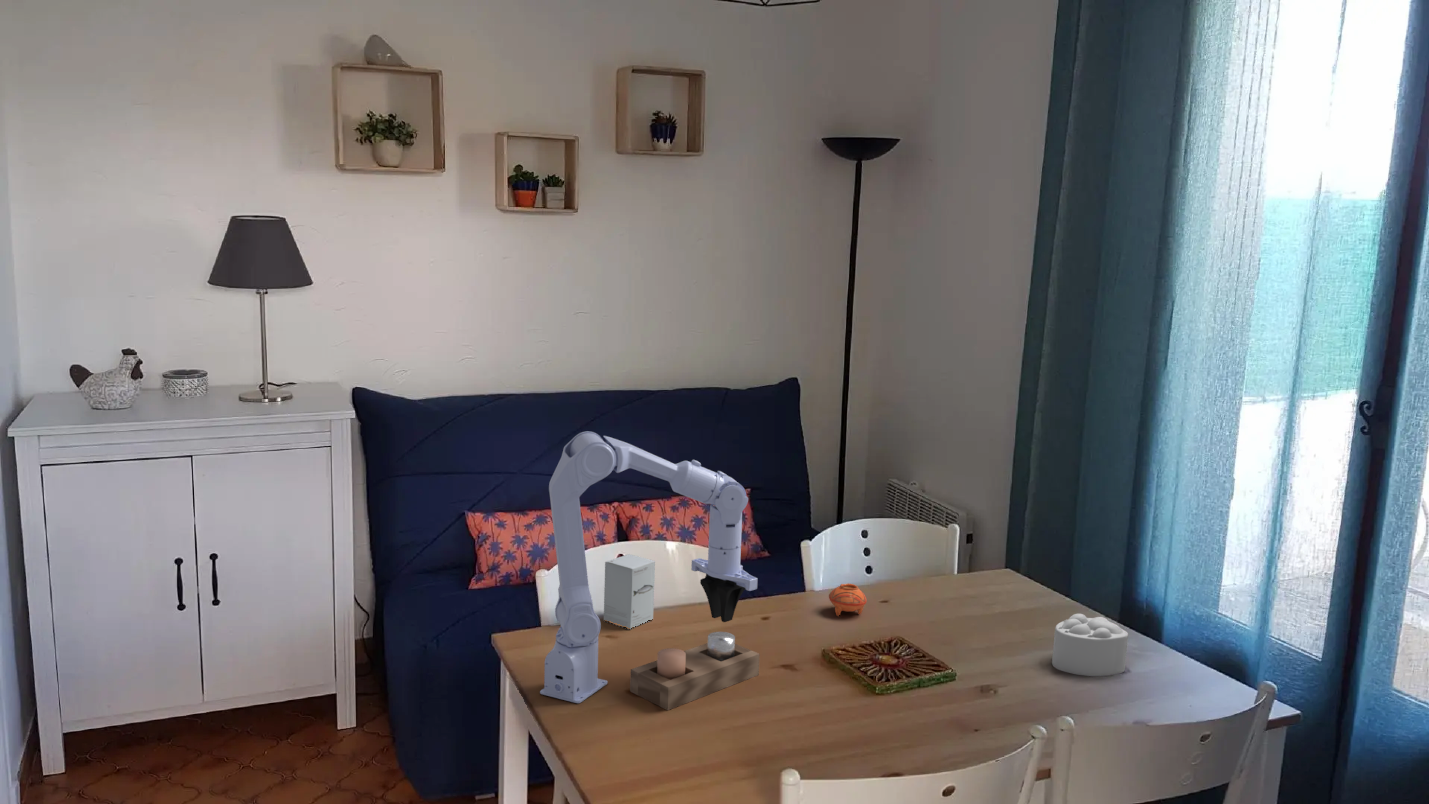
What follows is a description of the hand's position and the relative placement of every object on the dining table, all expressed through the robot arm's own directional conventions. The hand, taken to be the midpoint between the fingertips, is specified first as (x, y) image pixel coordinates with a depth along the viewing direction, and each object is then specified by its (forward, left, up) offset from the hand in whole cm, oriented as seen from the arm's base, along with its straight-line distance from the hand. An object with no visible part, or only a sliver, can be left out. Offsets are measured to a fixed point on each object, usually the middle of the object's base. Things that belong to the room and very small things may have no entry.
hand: (722, 618), depth 195 cm
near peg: (-11, +4, -7) cm, 14 cm away
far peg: (0, 0, -7) cm, 7 cm away
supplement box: (+14, +27, -11) cm, 32 cm away
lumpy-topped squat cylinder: (+38, -58, -11) cm, 70 cm away
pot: (+41, -10, -11) cm, 44 cm away
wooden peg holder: (-6, +2, -10) cm, 12 cm away
